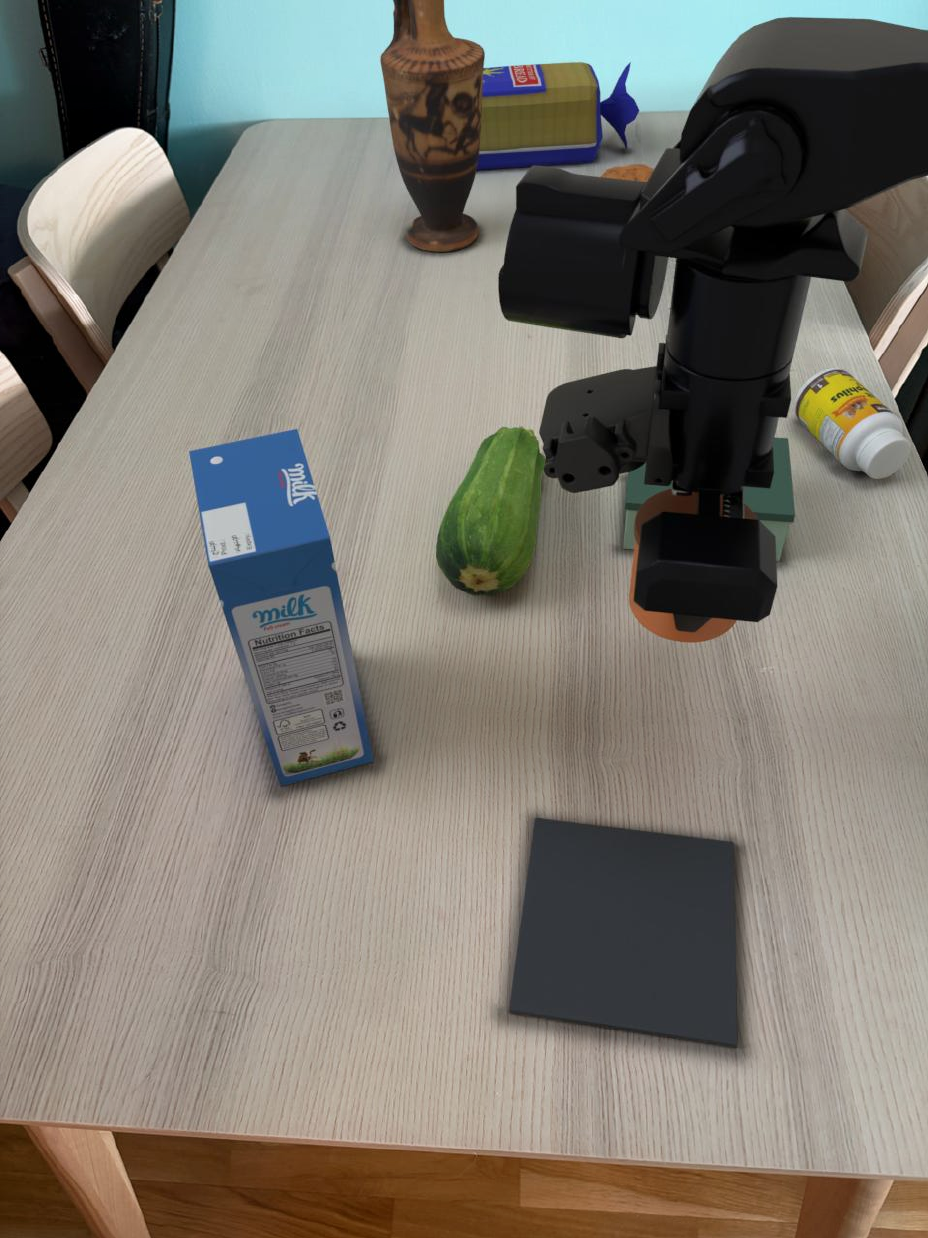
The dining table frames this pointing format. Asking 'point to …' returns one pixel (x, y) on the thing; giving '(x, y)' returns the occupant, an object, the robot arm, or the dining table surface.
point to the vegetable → (493, 515)
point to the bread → (548, 114)
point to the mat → (629, 932)
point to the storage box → (764, 502)
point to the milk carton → (282, 602)
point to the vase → (434, 120)
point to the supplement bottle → (852, 423)
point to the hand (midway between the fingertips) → (687, 586)
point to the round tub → (650, 620)
